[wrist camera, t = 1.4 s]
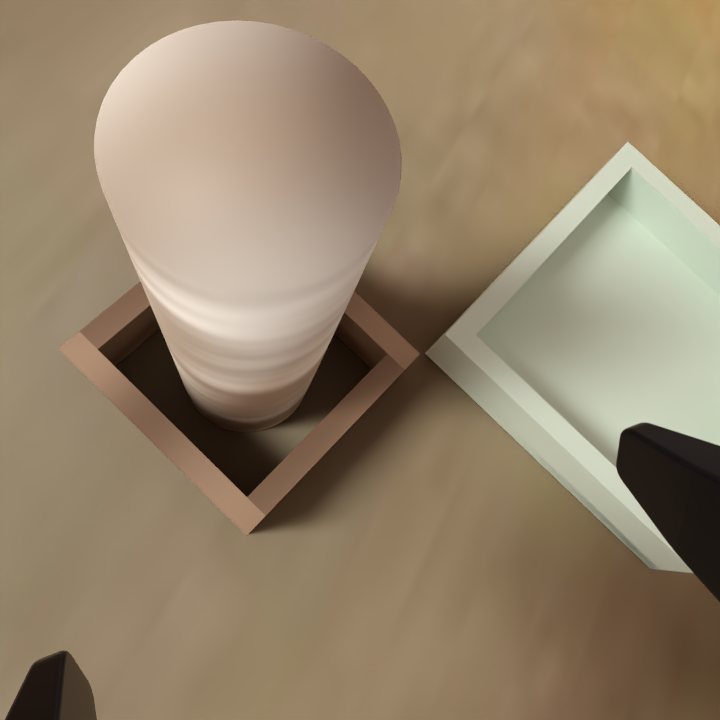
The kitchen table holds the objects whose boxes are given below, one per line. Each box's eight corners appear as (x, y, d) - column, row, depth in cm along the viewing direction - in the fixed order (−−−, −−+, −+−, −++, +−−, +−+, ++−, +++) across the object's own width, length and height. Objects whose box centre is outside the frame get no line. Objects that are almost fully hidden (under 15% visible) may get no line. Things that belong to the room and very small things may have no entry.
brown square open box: (402, 371, 24) (420, 353, 21) (246, 534, 21) (246, 535, 19) (249, 224, 24) (250, 191, 22) (78, 368, 22) (58, 348, 19)
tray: (794, 358, 27) (847, 342, 25) (650, 568, 24) (695, 573, 21) (594, 174, 28) (627, 141, 25) (424, 353, 24) (444, 334, 22)
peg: (335, 370, 23) (458, 161, 10) (246, 458, 22) (252, 354, 9) (248, 286, 23) (255, -27, 10) (155, 369, 22) (23, 131, 9)
